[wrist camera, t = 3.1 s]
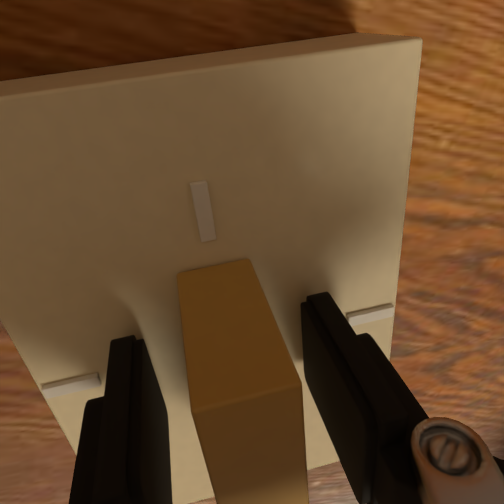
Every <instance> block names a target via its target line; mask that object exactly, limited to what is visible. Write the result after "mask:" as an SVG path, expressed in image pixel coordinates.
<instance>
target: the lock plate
mask: <svg viewBox="0 0 504 504" xmlns="http://www.w3.org/2000/svg"><path fill="white" fill-rule="evenodd" d="M422 42H423V41H422V38H420V37H411V36H397V35H383V34H370V33H351V34H344V35H336V36H329V37H322V38H314V39H307V40H300V41H292V42H285V43H278V44H270V45H263V46H256V47H248V48H241V49H234V50H226V51H219V52H211V53H204V54H197V55H189V56H182V57H175V58H167V59H160V60H153V61H145V62H138V63H131V64H123V65H116V66H108V67H101V68H94V69H86V70H79V71H72V72H64V73H57V74H50V75H42V76H35V77H28V78H20V79H13V80H5V81H0V320H1V322H2V323H3V325H4V327H5V329H6V331H7V332H8V334H9V336H10V338H11V340H12V341H13V343H14V345H15V347H16V348H17V350H18V352H19V354H20V356H21V357H22V359H23V361H24V363H25V364H26V366H27V368H28V370H29V372H30V373H31V375H32V377H33V379H34V381H35V382H36V384H37V386H38V388H39V389H40V391H41V393H42V395H43V397H44V398H45V400H46V402H47V404H48V406H49V407H50V409H51V411H52V413H53V414H54V416H55V418H56V420H57V422H58V423H59V425H60V427H61V429H62V431H63V432H64V434H65V436H66V438H67V439H68V441H69V443H70V445H71V447H72V448H73V450H74V452H75V454H76V456H77V450H78V444H79V438H80V432H81V426H82V420H83V414H84V408H85V404H86V402H87V401H88V400H90V399H94V398H98V397H102V396H104V391H105V383H106V374H107V366H108V357H109V349H110V342H111V340H113V339H117V338H121V337H126V336H130V335H134V336H135V337H136V340H139V339H144V341H145V344H146V347H147V350H148V353H149V356H150V359H151V362H152V365H153V368H154V371H155V374H156V377H157V380H158V383H159V386H160V389H161V392H162V395H163V398H164V401H165V404H166V408H167V413H168V421H169V442H170V462H171V483H172V503H173V504H189V503H193V502H196V501H200V500H203V499H207V498H210V497H214V496H215V495H214V492H213V488H212V485H211V481H210V478H209V474H208V471H207V467H206V463H205V460H204V456H203V453H202V449H201V446H200V442H199V439H198V435H197V432H196V428H195V425H194V421H193V417H192V414H191V408H190V399H189V390H188V380H187V371H186V362H185V352H184V343H183V334H182V324H181V315H180V306H179V296H178V287H177V278H176V276H177V274H178V273H181V272H186V271H190V270H195V269H200V268H205V267H210V266H214V265H219V264H224V263H229V262H234V261H239V260H243V259H250V261H251V263H252V265H253V267H254V270H255V272H256V275H257V277H258V279H259V282H260V284H261V287H262V289H263V291H264V294H265V296H266V298H267V301H268V303H269V306H270V308H271V310H272V313H273V315H274V318H275V320H276V322H277V325H278V327H279V329H280V332H281V334H282V337H283V339H284V341H285V344H286V346H287V349H288V351H289V353H290V356H291V358H292V360H293V363H294V365H295V368H296V370H297V372H298V375H299V377H300V380H301V382H302V390H303V408H304V425H305V443H306V460H307V470H309V469H312V468H316V467H319V466H323V465H326V464H330V463H333V462H337V461H340V460H339V457H338V455H337V453H336V450H335V448H334V446H333V444H332V441H331V439H330V437H329V434H328V432H327V430H326V427H325V425H324V423H323V420H322V418H321V416H320V413H319V411H318V409H317V406H316V404H315V402H314V400H313V397H312V395H311V393H310V390H309V388H308V386H307V383H306V380H305V376H304V365H303V346H302V327H301V308H300V305H301V303H302V302H306V298H307V296H309V295H313V294H318V293H322V292H326V291H327V292H329V294H330V295H331V296H332V298H333V299H334V301H335V303H336V304H337V306H338V307H339V309H340V310H341V312H342V313H343V315H344V316H345V318H346V319H347V321H348V322H349V324H350V325H351V327H352V328H353V330H354V332H355V333H356V335H358V334H362V333H368V334H370V335H371V336H372V337H373V339H374V340H375V341H376V343H377V344H378V346H379V347H380V349H381V350H382V351H383V353H384V354H385V356H386V357H387V359H388V360H390V351H391V341H392V331H393V322H394V312H395V303H396V293H397V283H398V274H399V264H400V254H401V245H402V235H403V225H404V216H405V206H406V196H407V187H408V177H409V167H410V158H411V148H412V138H413V129H414V119H415V109H416V100H417V90H418V81H419V71H420V61H421V52H422Z"/></svg>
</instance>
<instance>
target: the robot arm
mask: <svg viewBox="0 0 504 504" xmlns="http://www.w3.org/2000/svg"><path fill="white" fill-rule="evenodd" d="M300 308H301V327H302V346H303V365H304V376H305V380H306V383H307V386H308V388H309V390H310V393H311V395H312V397H313V400H314V402H315V404H316V406H317V409H318V411H319V413H320V416H321V418H322V420H323V423H324V425H325V427H326V430H327V432H328V434H329V437H330V439H331V441H332V444H333V446H334V448H335V450H336V453H337V455H338V457H339V460H340V462H341V464H342V467H343V469H344V471H345V474H346V476H347V478H348V481H349V483H350V485H351V488H352V490H353V492H354V494H355V497H356V499H357V501H358V502H359V504H366V503H367V504H504V460H501V459H499V458H496V457H494V456H492V454H491V453H490V451H489V449H488V447H487V445H486V444H485V443H484V441H483V440H482V439H481V437H480V436H479V435H478V434H477V433H476V432H474V431H473V430H472V429H471V428H470V427H468V426H466V425H464V424H463V423H461V422H459V421H456V420H453V419H449V418H445V417H433V418H429V417H428V416H427V414H426V413H425V411H424V410H423V409H422V407H421V406H420V404H419V403H418V401H417V400H416V399H415V397H414V396H413V394H412V393H411V391H410V390H409V389H408V387H407V386H406V384H405V383H404V381H403V380H402V379H401V377H400V376H399V374H398V373H397V371H396V370H395V369H394V367H393V366H392V364H391V363H390V361H389V360H388V359H387V357H386V356H385V354H384V353H383V351H382V350H381V349H380V347H379V346H378V344H377V343H376V341H375V340H374V339H373V337H372V336H371V335H370V334H368V333H362V334H358V335H356V333H355V332H354V330H353V328H352V327H351V325H350V324H349V322H348V321H347V319H346V318H345V316H344V315H343V313H342V312H341V310H340V309H339V307H338V306H337V304H336V303H335V301H334V299H333V298H332V296H331V295H330V294H329V292H327V291H326V292H322V293H318V294H313V295H309V296H307V298H306V302H302V303H301V305H300ZM69 504H173V503H172V483H171V462H170V442H169V421H168V413H167V408H166V404H165V401H164V398H163V395H162V392H161V389H160V386H159V383H158V380H157V377H156V374H155V371H154V368H153V365H152V362H151V359H150V356H149V353H148V350H147V347H146V344H145V341H144V339H139V340H136V337H135V336H134V335H130V336H126V337H121V338H117V339H113V340H111V342H110V349H109V357H108V366H107V374H106V383H105V391H104V396H102V397H98V398H94V399H90V400H88V401H87V402H86V404H85V408H84V414H83V420H82V426H81V432H80V438H79V444H78V450H77V456H76V462H75V468H74V474H73V481H72V487H71V493H70V499H69Z"/></svg>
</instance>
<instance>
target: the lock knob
mask: <svg viewBox="0 0 504 504" xmlns="http://www.w3.org/2000/svg"><path fill="white" fill-rule="evenodd" d="M176 278H177V287H178V296H179V306H180V315H181V324H182V334H183V343H184V352H185V362H186V371H187V380H188V390H189V399H190V408H191V414H192V417H193V421H194V425H195V428H196V432H197V435H198V439H199V442H200V446H201V449H202V453H203V456H204V460H205V463H206V467H207V471H208V474H209V478H210V481H211V485H212V488H213V492H214V495H215V499H216V502H217V504H309V495H308V478H307V460H306V443H305V425H304V408H303V390H302V382H301V380H300V377H299V375H298V372H297V370H296V368H295V365H294V363H293V360H292V358H291V356H290V353H289V351H288V349H287V346H286V344H285V341H284V339H283V337H282V334H281V332H280V329H279V327H278V325H277V322H276V320H275V318H274V315H273V313H272V310H271V308H270V306H269V303H268V301H267V298H266V296H265V294H264V291H263V289H262V287H261V284H260V282H259V279H258V277H257V275H256V272H255V270H254V267H253V265H252V263H251V261H250V259H243V260H239V261H234V262H229V263H224V264H219V265H214V266H210V267H205V268H200V269H195V270H190V271H186V272H181V273H178V274H177V276H176Z"/></svg>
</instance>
